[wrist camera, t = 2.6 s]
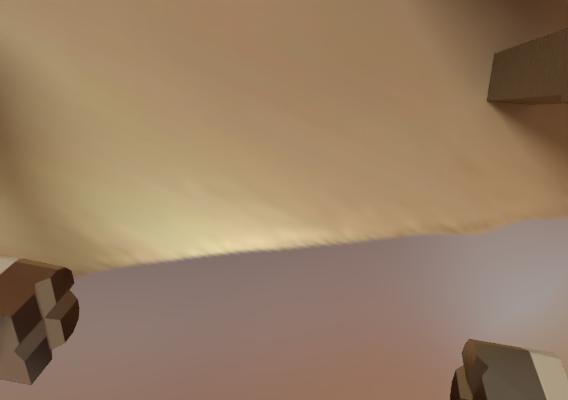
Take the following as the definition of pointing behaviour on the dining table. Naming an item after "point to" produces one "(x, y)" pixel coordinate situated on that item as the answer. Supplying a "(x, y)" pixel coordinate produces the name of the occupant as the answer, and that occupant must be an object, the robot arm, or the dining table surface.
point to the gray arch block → (532, 72)
